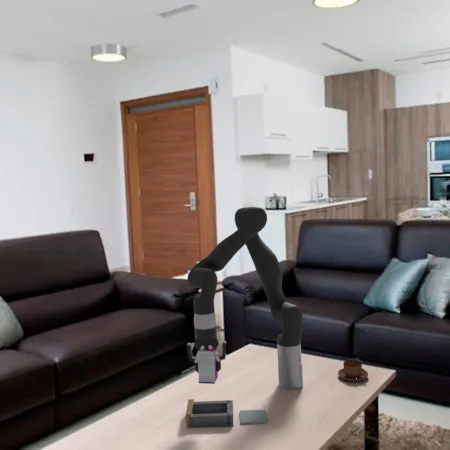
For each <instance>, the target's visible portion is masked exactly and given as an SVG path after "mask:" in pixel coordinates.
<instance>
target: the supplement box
mask: <svg viewBox="0 0 450 450" xmlns="http://www.w3.org/2000/svg"><path fill="white" fill-rule="evenodd" d="M217 349H218V347H217V348H216V349H215V351H214V350H203V351H198V350H197V352H198V370H199V373H198V384H213V385H214V384H215V383H216V381H217V379H218V377H219V372H217V363H216V361H217V360H216V358H215V352H216V350H217ZM217 351H218V350H217Z"/></svg>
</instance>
